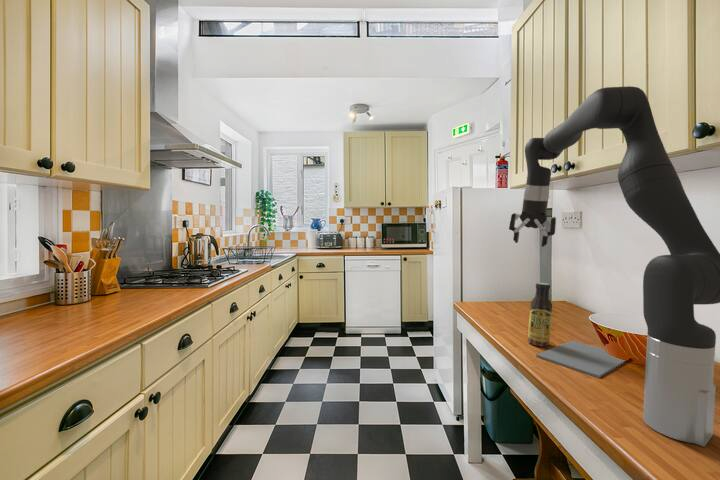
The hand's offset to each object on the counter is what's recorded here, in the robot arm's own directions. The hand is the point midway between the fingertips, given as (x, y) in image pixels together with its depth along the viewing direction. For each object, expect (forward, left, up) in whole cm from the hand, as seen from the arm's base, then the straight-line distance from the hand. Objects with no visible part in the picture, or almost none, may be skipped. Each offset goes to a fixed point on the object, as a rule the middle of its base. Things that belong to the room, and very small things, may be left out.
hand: (529, 244), depth 118 cm
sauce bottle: (-9, +8, -32) cm, 34 cm away
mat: (-22, +8, -32) cm, 39 cm away
